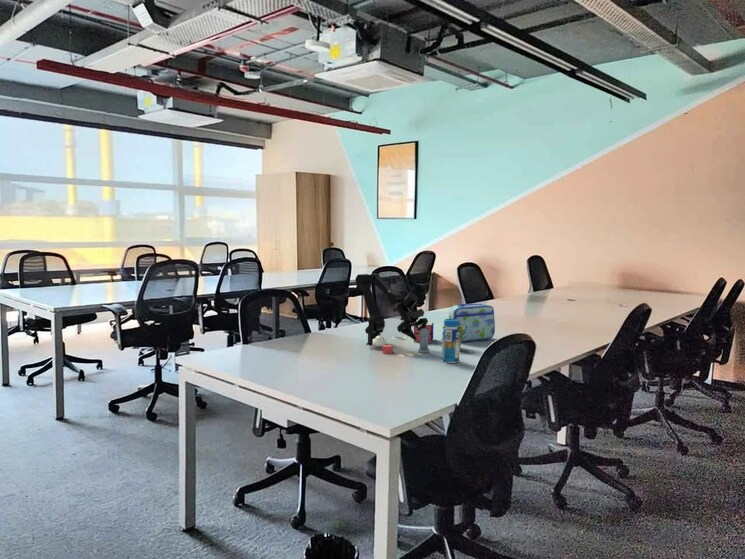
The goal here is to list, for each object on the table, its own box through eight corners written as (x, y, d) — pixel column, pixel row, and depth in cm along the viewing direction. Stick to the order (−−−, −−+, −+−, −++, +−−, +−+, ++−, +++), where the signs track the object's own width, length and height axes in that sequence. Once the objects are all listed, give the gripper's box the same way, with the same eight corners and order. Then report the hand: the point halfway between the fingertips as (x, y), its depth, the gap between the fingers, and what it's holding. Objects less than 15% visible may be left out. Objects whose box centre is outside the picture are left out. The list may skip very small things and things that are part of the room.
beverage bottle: (438, 360, 259) (439, 318, 257) (453, 358, 263) (454, 317, 261) (447, 364, 251) (448, 321, 250) (462, 362, 255) (464, 320, 253)
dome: (370, 345, 278) (370, 336, 277) (376, 343, 284) (376, 333, 283) (382, 347, 274) (382, 337, 274) (388, 344, 281) (388, 335, 280)
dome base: (367, 350, 277) (367, 346, 277) (375, 347, 285) (375, 343, 285) (383, 352, 273) (383, 348, 273) (390, 349, 281) (390, 345, 281)
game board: (403, 361, 257) (403, 358, 256) (390, 357, 265) (390, 354, 264) (438, 355, 269) (438, 352, 269) (424, 351, 278) (424, 349, 277)
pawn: (417, 353, 268) (418, 329, 267) (418, 350, 274) (418, 327, 272) (429, 353, 267) (429, 329, 266) (429, 351, 273) (429, 327, 272)
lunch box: (454, 343, 299) (455, 305, 297) (446, 339, 309) (446, 303, 307) (496, 340, 307) (497, 304, 305) (486, 337, 317) (487, 301, 315)
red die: (382, 355, 268) (382, 346, 267) (383, 353, 272) (383, 344, 272) (391, 355, 267) (391, 346, 267) (392, 353, 272) (392, 344, 271)
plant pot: (438, 349, 283) (438, 328, 282) (446, 345, 293) (446, 324, 292) (460, 351, 278) (460, 330, 276) (467, 347, 288) (468, 326, 287)
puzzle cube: (431, 343, 299) (431, 325, 298) (413, 342, 301) (413, 324, 300) (433, 339, 309) (433, 322, 308) (415, 338, 311) (416, 321, 310)
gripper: (402, 305, 266) (419, 331, 260) (425, 302, 280) (442, 326, 273) (389, 319, 272) (406, 344, 266) (413, 315, 286) (429, 339, 279)
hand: (421, 338), depth 271 cm, fingers open, 9 cm apart
